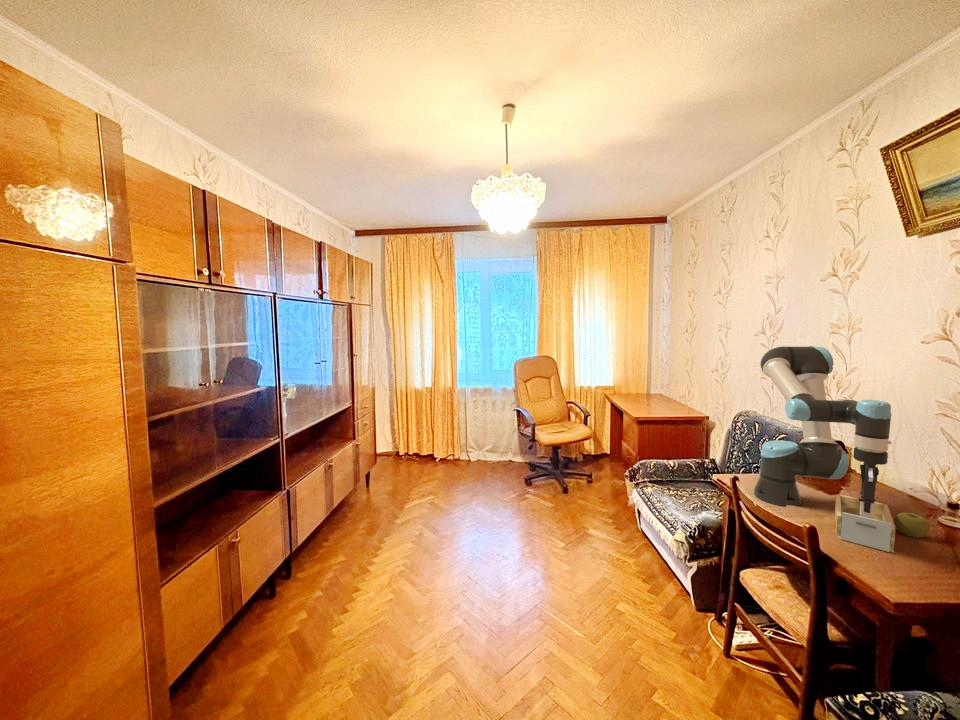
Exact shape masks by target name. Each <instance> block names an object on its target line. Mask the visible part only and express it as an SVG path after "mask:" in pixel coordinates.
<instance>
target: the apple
mask: <svg viewBox="0 0 960 720" xmlns="http://www.w3.org/2000/svg"><path fill="white" fill-rule="evenodd" d="M893 523H894V526H895V529H896V530H897V531H898V532H899V533H900V534H902V535H905V536H908V537H912V538H916V539H923V538H924V537H927V536H928V534H929V533H930V531H931V525H930V522H929V521H928V520H927V519H926V518H925V517H924V516H921V515H919V514H916V513H911V512H899V513H897V514H895V516H894V518H893Z"/></svg>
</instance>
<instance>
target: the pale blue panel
mask: <svg viewBox="0 0 960 720" xmlns="http://www.w3.org/2000/svg"><path fill="white" fill-rule="evenodd" d="M891 525H892V524H891V523H889V522H884V521H880V520H875V519H871V518H867V517H862V516H858V515H854V514H849V513H845V512H843V514H842V528H841V539H840V540H842V541H846V542H850V543H854V544H856V545H861V546H864V547H868V548H871V549H872V548H873V549H876V550H880V551H884V552H888V553H890V551H889V549H890V537H891Z"/></svg>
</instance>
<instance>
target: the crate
mask: <svg viewBox="0 0 960 720" xmlns="http://www.w3.org/2000/svg"><path fill="white" fill-rule="evenodd" d="M860 505H861V501H859V498H858V497H853V496H848V495H842V494H837V493H836V494H835V508H834V509H835V510H834V516H835V519H834V521H835V522H834V523H835V538H837V539H840V540H842V539H841V528H842V514H843V512H845V513H849V514H854V515H858V516H860ZM888 505H889V504H886V503H882V502H878V501H874V504H873V514H872V519H875V520H880V521H884V522H889V523H891V524H892V525H891V537H890V549H889V553H890V552H891V553H895V538H896V527H895V524H894V519H893V517H892V514H891V511H890V508H889V506H888Z"/></svg>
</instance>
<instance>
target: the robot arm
mask: <svg viewBox="0 0 960 720" xmlns="http://www.w3.org/2000/svg"><path fill="white" fill-rule="evenodd" d="M759 365H760V369H761V371H762V372H763V374H764V375H765V376H766V377H768V378H770V379H771V381H772V382H773V383H774V385H775V386H776V389H778V391H779V392H780V394H781V395H782V396H783V398H784V400H785V401H786V402H785V405H784V411H785V416H786V417H787V418H788V419H790V420H793V421H800V422H801V428H802V435H803V438H802V439H801V440H800V441H799V444H797V442H794V441H790V440H787V441H786V440H784V439H783V440H780V439H779V440H777V439H776V440H775V439H774V440H768V441H766V442H763V444H762V445H761V450H760V469H759V478H758V479H757V482H756V484H755V486H754V488H753V495H754V496H755V498H758V499H759V500H761V501H764V502H766V503H769V504H773V505H777V506H783V507H787V506H794V507H798V506H799V505H801V502H802V499H801V498H802V496H801V494H800V491H799V488H798V485H797V477H807V478H817V479H823V480H824V479H825V480H839V479H842V478H843V477H845V475H846V473H847V472H848V468H849V457H848V455H847V453H846V451H845V450H843V449H841V448H839V444H838V442H836V441H835V440H833V436H832V430H831V423H839V424H840V423H841V424H852V425H853V426H855V428H854V430H855V431H854V439H853V446H854V448H853V459H854V460H856V461H858V462H860V463H863V464H859V470H860V478H861V483H860V485H861V486H860V487H861V489H860V495H861V496H860V498H858V499H859V501H861V505H860V516H862V517H867V518H871V519H872V514H873V504H874V502H877V501H876V498H875V494H876V487H877V486H876V485H877V482H878V476H879V474H880V473H879V472H880V470H879V468H878V467H879V466H877V465H880V466H881V465H882V466H883V465H884V466H885V465H886V464H887V463H888V457H889V453H888V452H887V451H889V445H891V444H892V441H891V440H890V438H889V437H890V431H891V430H890V429H891V421H892V405H891V404H890V403H889V402H887V401H884V400H878V399H859V400H858V401H857V400H854V399H848V398H847V399H846V398H845V399H840V400H829V399H827V395H826V387H825V380H826V379H828V377H829V374H831V373H832V372H833V370H834V365H835V363H834V358H833V355H832V354H831V352H830V351H829V350H828V349H827V348H825V347H823V346H812V345H810V346H786V345H783V346H778V347H777V346H776V347H774V348H772V349H769V350H767V352H765V353H764V354H763V356H762V358H761V360H760V364H759Z"/></svg>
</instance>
